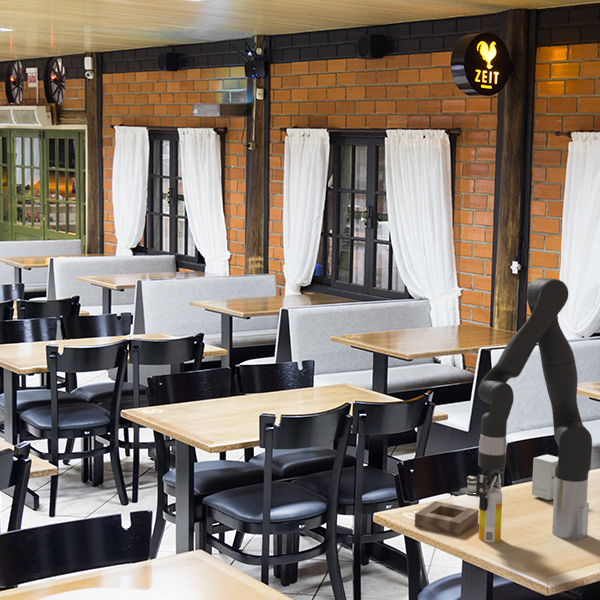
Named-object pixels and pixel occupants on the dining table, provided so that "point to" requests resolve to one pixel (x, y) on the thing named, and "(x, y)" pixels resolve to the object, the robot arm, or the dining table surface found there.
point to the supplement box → (544, 476)
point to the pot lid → (470, 486)
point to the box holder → (446, 518)
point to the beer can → (491, 518)
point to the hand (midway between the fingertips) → (489, 506)
